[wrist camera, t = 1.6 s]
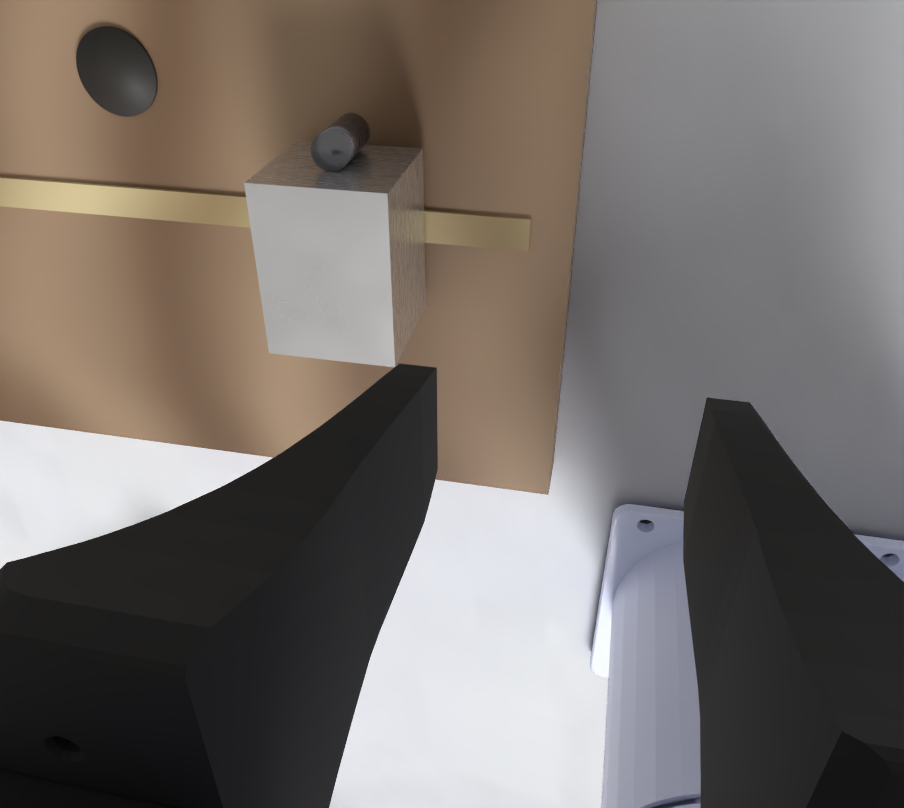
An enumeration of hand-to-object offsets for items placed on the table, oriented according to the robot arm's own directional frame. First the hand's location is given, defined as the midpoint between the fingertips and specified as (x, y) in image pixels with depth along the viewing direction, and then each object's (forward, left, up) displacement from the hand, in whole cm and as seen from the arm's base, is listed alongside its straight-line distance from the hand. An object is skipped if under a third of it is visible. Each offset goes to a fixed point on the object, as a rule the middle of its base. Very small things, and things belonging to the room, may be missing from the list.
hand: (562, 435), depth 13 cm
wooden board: (+11, +1, -9) cm, 14 cm away
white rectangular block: (+6, 0, -8) cm, 10 cm away
